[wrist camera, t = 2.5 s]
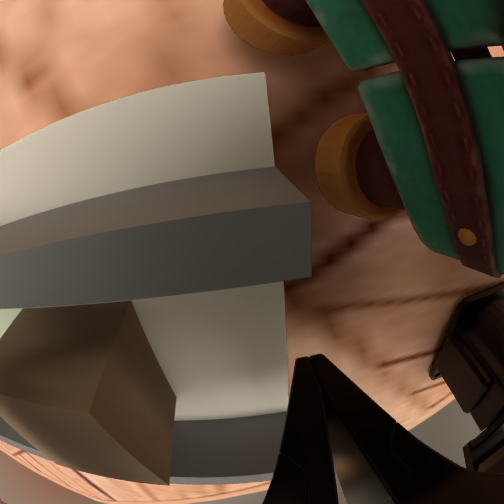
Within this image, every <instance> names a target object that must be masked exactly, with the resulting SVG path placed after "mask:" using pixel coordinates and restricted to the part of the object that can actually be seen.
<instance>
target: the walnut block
mask: <svg viewBox="0 0 504 504" xmlns="http://www.w3.org/2000/svg"><path fill="white" fill-rule="evenodd" d="M176 399H177V397H176V395H175V394H174V392H173V390H172V388H171V386H170V384H169V382H168V380H167V378H166V377H165V375H164V373H163V371H162V369H161V367H160V365H159V363H158V361H157V358H156V356H155V354H154V352H153V350H152V348H151V346H150V344H149V341H148V339H147V337H146V335H145V332H144V330H143V328H142V326H141V323H140V321H139V318H138V316H137V314H136V311H135V309H134V306H133V304H132V301H120V302H109V303H98V304H86V305H72V306H58V307H43V308H25V309H22V310H21V311H20V313H19V314H18V315H17V316H16V318H15V319H14V320H13V322H12V323H11V325H10V326H9V327H8V329H7V330H6V331H5V333H4V334H3V336H2V337H1V339H0V416H1V417H2V418H3V419H4V420H5V421H6V422H7V423H8V424H9V425H10V426H11V427H12V428H13V429H14V430H15V431H16V432H18V433H19V434H20V435H21V436H22V437H23V438H24V439H25V440H27V441H28V442H29V443H30V444H31V445H33V446H34V447H35V448H36V449H37V450H39V451H40V452H41V453H42V454H44V455H45V456H46V457H48V458H49V459H50V460H52V461H53V462H54V463H56V464H58V465H61V466H64V467H68V468H71V469H75V470H78V471H82V472H86V473H90V474H95V475H99V476H104V477H109V478H114V479H120V480H126V481H132V482H139V483H147V484H157V485H169V483H170V466H171V452H172V440H173V429H174V418H175V408H176Z"/></svg>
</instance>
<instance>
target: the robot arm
mask: <svg viewBox="0 0 504 504" xmlns="http://www.w3.org/2000/svg"><path fill="white" fill-rule="evenodd" d="M429 376H430V378H431V379H432V380H435V379H437V378H440V377H443V379H444V380H445V382H446V384H447V385H448V387H449V388H450V390H451V392H452V393H453V395H454V396H455V398H456V400H457V401H458V403H459V405H460V406H461V408H462V410H463V411H464V412H465V413H469V412H470V413H471V415H472V417H473V419H474V420H475V422H476V424H477V425H478V427H479V429H480V431H482V430H483V429H485V428H486V429H485V430H484V431H483V432H482V433H481V434H480V435H478V436H477V437H476V438H475V439H473V440H471V441H469V443H467V444H466V445H465V446H464V447H463V452H464V458H465V463H466V468H463V467H461V466H459V465H458V464H456V463H454V462H452V461H451V460H449V459H448V458H446V457H444V456H443V455H441V454H439V453H438V452H436V451H435V450H433V449H432V448H430V447H429V446H427V445H425V444H424V443H423V442H421V441H420V440H419V439H417V438H416V437H415V436H413V435H412V434H411V433H410V432H409V431H407V430H406V429H405V428H404V427H403V426H402V425H400V424H399V423H398V422H397V423H396V420H395V419H394V418H392V417H391V416H390V415H389V414H388V413H387V412H386V411H385V410H383V409H382V408H381V407H380V406H379V405H378V404H377V403H376V402H375V401H373V400H372V399H371V398H370V397H369V396H368V395H367V394H366V393H365V392H363V391H362V390H361V389H360V388H359V387H358V386H357V385H356V384H355V383H354V382H352V381H351V380H350V379H349V378H348V377H347V376H346V375H345V374H344V373H343V372H342V371H341V370H339V369H338V368H337V367H336V366H335V365H334V364H333V363H332V362H331V361H330V360H329V359H328V358H327V357H325V356H324V355H323V354H317V355H312V356H310V357H301V358H297V359H296V360H295V366H294V373H293V379H292V385H291V391H290V397H289V402H288V408H287V413H286V419H285V424H284V429H283V434H282V439H281V444H280V449H279V454H278V457H277V462H276V466H275V470H274V473H273V477H272V481H271V483H270V486H269V489H268V491H267V494H266V496H265V499H264V501H263V503H262V504H338V495H337V487H336V480H335V472H334V467H335V470H336V473H337V476H338V479H339V482H340V484H341V487H342V490H343V493H344V496H345V499H346V502H347V504H504V284H502V285H499V286H497V287H494V288H492V289H489V290H487V291H484V292H481V293H479V294H476V295H473V296H471V297H468V298H465V299H463V300H462V301H461V302H460V303H459V305H458V306H457V309H456V311H455V314H454V317H453V320H452V322H451V325H450V328H449V330H448V333H447V335H446V337H445V340H444V342H443V345H442V347H441V349H440V351H439V354H438V356H437V358H436V360H435V362H434V364H433V367H432V369H431V371H430V373H429Z"/></svg>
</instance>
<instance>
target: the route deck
mask: <svg viewBox="0 0 504 504" xmlns="http://www.w3.org/2000/svg"><path fill="white" fill-rule="evenodd" d="M308 277H312V257H311V214H310V201H309V200H308V199H307V198H306V197H305V196H304V195H303V194H302V193H301V192H300V191H299V190H298V189H297V188H296V187H295V186H294V185H293V184H292V183H291V182H290V181H289V180H288V179H287V178H286V177H285V176H284V175H283V174H282V173H281V172H280V171H279V170H278V169H277V168H276V167H275V163H274V152H273V142H272V132H271V123H270V113H269V104H268V95H267V87H266V78H265V72H261V73H249V74H238V75H229V76H221V77H214V78H207V79H201V80H195V81H190V82H184V83H179V84H174V85H169V86H165V87H160V88H156V89H152V90H148V91H144V92H140V93H137V94H133V95H129V96H126V97H123V98H119V99H116V100H113V101H110V102H107V103H104V104H101V105H98V106H95V107H92V108H89V109H87V110H84V111H81V112H79V113H76V114H73V115H71V116H69V117H66V118H64V119H61V120H59V121H57V122H54V123H52V124H50V125H48V126H45V127H43V128H41V129H39V130H37V131H35V132H33V133H31V134H29V135H27V136H25V137H23V138H21V139H19V140H17V141H15V142H14V143H12V144H10V145H8V146H6V147H5V148H3V149H1V150H0V339H1V337H2V336H3V334H4V333H5V331H6V330H7V329H8V327H9V326H10V325H11V323H12V322H13V320H14V319H15V318H16V316H17V315H18V314H19V313H20V311H21V310H22V309H25V308H43V307H58V306H72V305H86V304H98V303H109V302H120V301H132V304H133V306H134V309H135V311H136V314H137V316H138V318H139V321H140V323H141V326H142V328H143V330H144V332H145V335H146V337H147V339H148V341H149V344H150V346H151V348H152V350H153V352H154V354H155V356H156V358H157V361H158V363H159V365H160V367H161V369H162V371H163V373H164V375H165V377H166V378H167V380H168V382H169V384H170V386H171V388H172V390H173V392H174V394H175V395H176V397H177V399H176V408H175V418H174V429H173V440H172V452H171V466H170V483H171V484H196V485H212V484H237V483H250V482H260V481H269V480H272V477H273V473H274V470H275V466H276V462H277V457H278V454H279V449H280V444H281V439H282V434H283V429H284V424H285V419H286V413H287V408H288V402H289V394H288V363H287V338H286V317H285V298H284V281H288V280H295V279H302V278H308ZM0 440H1V441H3V442H6V443H8V444H10V445H12V446H14V447H17V448H19V449H21V450H24V451H26V452H29V453H32V454H34V455H37V456H40V457H42V458H45V459H48V460H50V459H49V458H48V457H46V456H45V455H44V454H42V453H41V452H40V451H39V450H37V449H36V448H35V447H34V446H33V445H31V444H30V443H29V442H28V441H27V440H25V439H24V438H23V437H22V436H21V435H20V434H19V433H18V432H16V431H15V430H14V429H13V428H12V427H11V426H10V425H9V424H8V423H7V422H6V421H5V420H4V419H3V418H2V417H1V416H0ZM51 461H52V460H51Z"/></svg>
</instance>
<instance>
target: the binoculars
mask: <svg viewBox="0 0 504 504" xmlns="http://www.w3.org/2000/svg"><path fill="white" fill-rule="evenodd" d="M223 8H224V15H225V18H226V20H227V23H228V24H229V26H230V27H231V28H232V30H233V31H234V32H235V33H236V34H237V35H238V36H239V37H240V38H241V39H242V40H244V41H246V42H247V43H249V44H250V45H252V46H254V47H256V48H259V49H261V50H264V51H266V52H270V53H275V54H280V55H295V54H303V53H306V52H308V51H311V50H314V49H315V48H317V47H319V46H320V45H322V44H324V43H325V42H327V41H329V40H331V41H332V43H333V45H334V46H335V48H336V50H337V51H338V53H339V55H340V56H341V58H342V60H343V62H344V63H345V65H346V66H347V67H348V69H351V70H354V71H362V70H367V69H371V68H374V67H378V66H381V65H385V64H389V63H393V62H396V64H397V66H398V68H399V70H400V71H396V72H392V73H388V74H384V75H380V76H376V77H372V78H369V79H367V80H365V81H362V82H360V85H359V87H358V90H359V94H360V96H361V98H362V101H363V103H364V106H365V108H366V111H367V112H365V113H359V114H353V115H348V116H345V117H343V118H341V119H338V120H337V121H336V122H334V123H333V124H332V125H331V126H329V128H328V129H327V130H326V132H325V133H324V134H323V136H322V138H321V140H320V142H319V145H318V147H317V152H316V157H315V174H316V179H317V183H318V185H319V188H320V190H321V193H322V194H323V196H324V197H325V198H326V200H327V201H328V202H329V203H330V204H331V205H332V206H333V207H335V208H336V209H338V210H340V211H342V212H344V213H347V214H351V215H355V216H359V217H362V218H366V219H370V220H376V221H380V220H387V219H389V218H391V217H393V216H395V215H396V214H398V213H399V212H400V211H401V210H406V211H407V214H408V216H409V218H410V221H411V223H412V225H413V228H414V230H415V231H416V233H417V235H418V236H419V238H420V240H421V241H422V242H423V243H424V244H425V245H426V246H427V247H428V248H429V249H431V250H432V251H434V252H437V253H440V254H443V255H446V256H450V257H453V258H456V259H459V260H460V261H461V263H462V264H463V265H464V266H466V267H469V268H472V269H474V270H477V271H480V272H482V273H485V274H487V275H490V276H493V277H496V278H500V277H501V276H502V274H504V57H492V56H491V54H490V52H489V50H488V48H487V46H502V48H503V51H504V0H224V3H223ZM450 51H451V52H450ZM451 53H452V55H453V57H454V59H455V61H454V60H453V57H452V55H451Z"/></svg>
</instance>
